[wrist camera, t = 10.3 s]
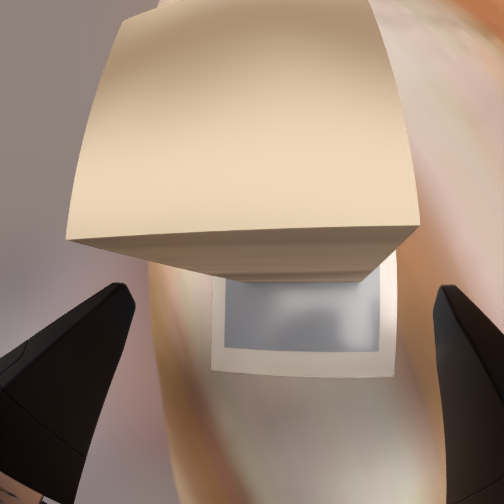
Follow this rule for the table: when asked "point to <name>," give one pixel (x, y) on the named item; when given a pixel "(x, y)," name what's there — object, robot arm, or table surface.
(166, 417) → the table surface
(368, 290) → the pedestal
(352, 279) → the birch pillar
